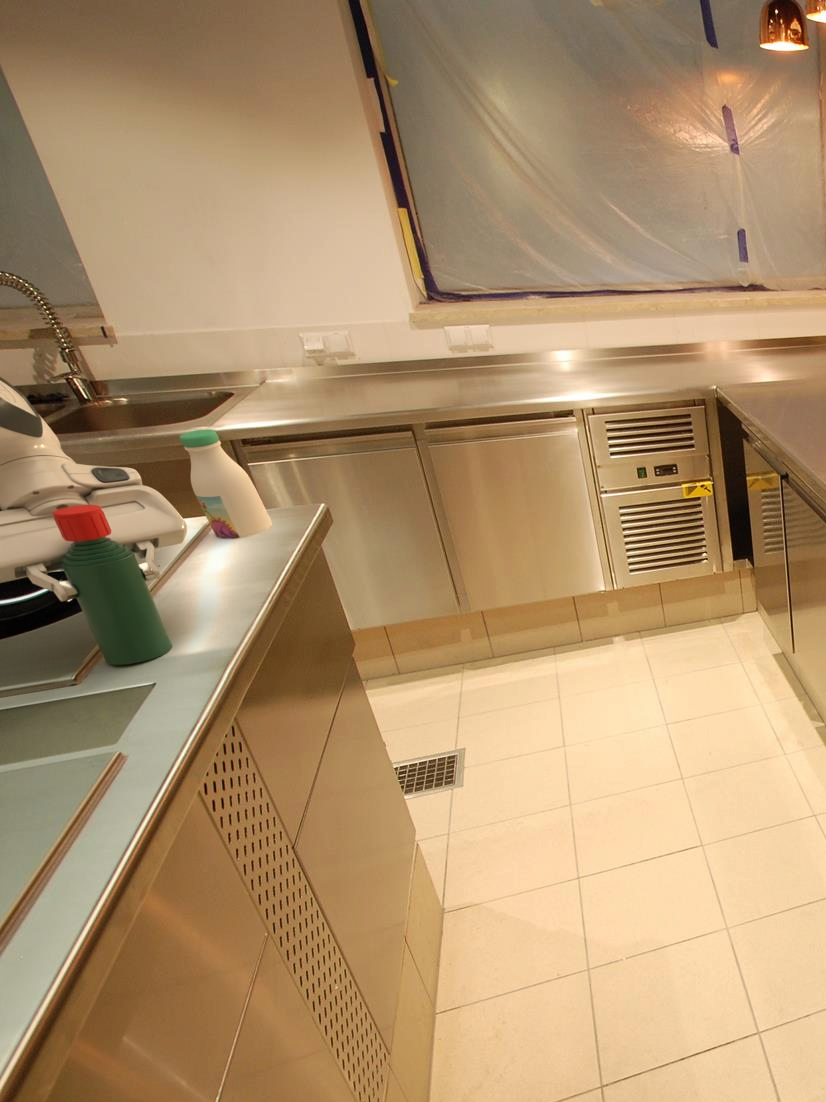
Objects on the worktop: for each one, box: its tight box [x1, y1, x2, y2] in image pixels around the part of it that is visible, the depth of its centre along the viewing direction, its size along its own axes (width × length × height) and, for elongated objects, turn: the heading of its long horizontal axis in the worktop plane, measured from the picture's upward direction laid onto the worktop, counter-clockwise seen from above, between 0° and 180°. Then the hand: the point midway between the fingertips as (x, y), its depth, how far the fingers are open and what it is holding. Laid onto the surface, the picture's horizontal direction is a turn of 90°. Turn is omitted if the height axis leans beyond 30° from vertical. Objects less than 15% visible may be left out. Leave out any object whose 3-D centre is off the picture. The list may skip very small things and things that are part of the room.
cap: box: [53, 505, 111, 542], centre depth 99 cm, size 4×4×3 cm
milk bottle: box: [179, 429, 273, 540], centre depth 137 cm, size 8×8×20 cm
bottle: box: [61, 537, 173, 666], centre depth 103 cm, size 6×6×18 cm
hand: (112, 587), depth 103 cm, fingers closed on bottle, 6 cm apart
